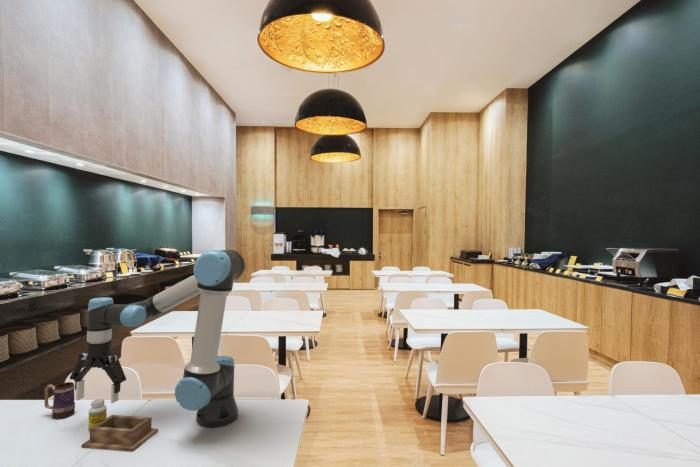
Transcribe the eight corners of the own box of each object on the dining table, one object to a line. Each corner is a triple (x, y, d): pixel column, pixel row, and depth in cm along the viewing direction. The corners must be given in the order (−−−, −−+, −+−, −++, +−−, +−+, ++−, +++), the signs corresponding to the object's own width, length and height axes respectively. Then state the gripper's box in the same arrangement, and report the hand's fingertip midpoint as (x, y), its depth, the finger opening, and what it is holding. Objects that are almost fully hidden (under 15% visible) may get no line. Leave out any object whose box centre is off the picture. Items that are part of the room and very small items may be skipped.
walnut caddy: (158, 431, 134) (158, 415, 134) (132, 451, 121) (133, 434, 121) (111, 428, 136) (111, 412, 136) (81, 447, 123) (81, 430, 123)
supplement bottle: (106, 423, 140) (106, 396, 140) (106, 429, 136) (107, 402, 136) (88, 427, 137) (89, 400, 137) (88, 433, 133) (88, 405, 133)
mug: (79, 410, 150) (79, 380, 150) (67, 419, 143) (68, 387, 143) (51, 411, 149) (52, 381, 149) (38, 420, 142) (39, 387, 142)
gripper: (138, 340, 139) (136, 398, 139) (76, 336, 142) (74, 393, 142) (123, 345, 132) (121, 407, 131) (59, 341, 135) (56, 402, 134)
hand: (97, 400), depth 137 cm, fingers open, 13 cm apart
